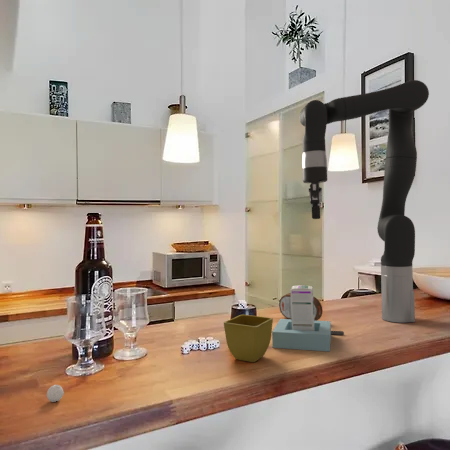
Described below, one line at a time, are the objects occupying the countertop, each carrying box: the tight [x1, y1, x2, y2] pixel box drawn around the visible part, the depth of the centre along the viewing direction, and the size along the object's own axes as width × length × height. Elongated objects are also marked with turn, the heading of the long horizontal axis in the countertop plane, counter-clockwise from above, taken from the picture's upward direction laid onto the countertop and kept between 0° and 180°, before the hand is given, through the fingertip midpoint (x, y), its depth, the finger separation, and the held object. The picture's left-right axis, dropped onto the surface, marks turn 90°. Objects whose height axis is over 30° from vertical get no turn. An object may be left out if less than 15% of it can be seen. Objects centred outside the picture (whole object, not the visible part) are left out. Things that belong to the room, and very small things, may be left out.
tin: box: [278, 292, 324, 321], centre depth 128 cm, size 15×3×8 cm, turn 47°
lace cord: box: [331, 330, 345, 336], centre depth 113 cm, size 19×1×1 cm, turn 74°
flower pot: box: [223, 314, 274, 363], centre depth 93 cm, size 9×9×9 cm
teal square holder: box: [271, 318, 332, 352], centre depth 106 cm, size 14×14×4 cm
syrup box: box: [289, 284, 315, 331], centre depth 105 cm, size 6×6×14 cm
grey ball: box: [46, 384, 65, 403], centre depth 72 cm, size 3×3×3 cm
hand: (316, 218), depth 125 cm, fingers open, 8 cm apart
